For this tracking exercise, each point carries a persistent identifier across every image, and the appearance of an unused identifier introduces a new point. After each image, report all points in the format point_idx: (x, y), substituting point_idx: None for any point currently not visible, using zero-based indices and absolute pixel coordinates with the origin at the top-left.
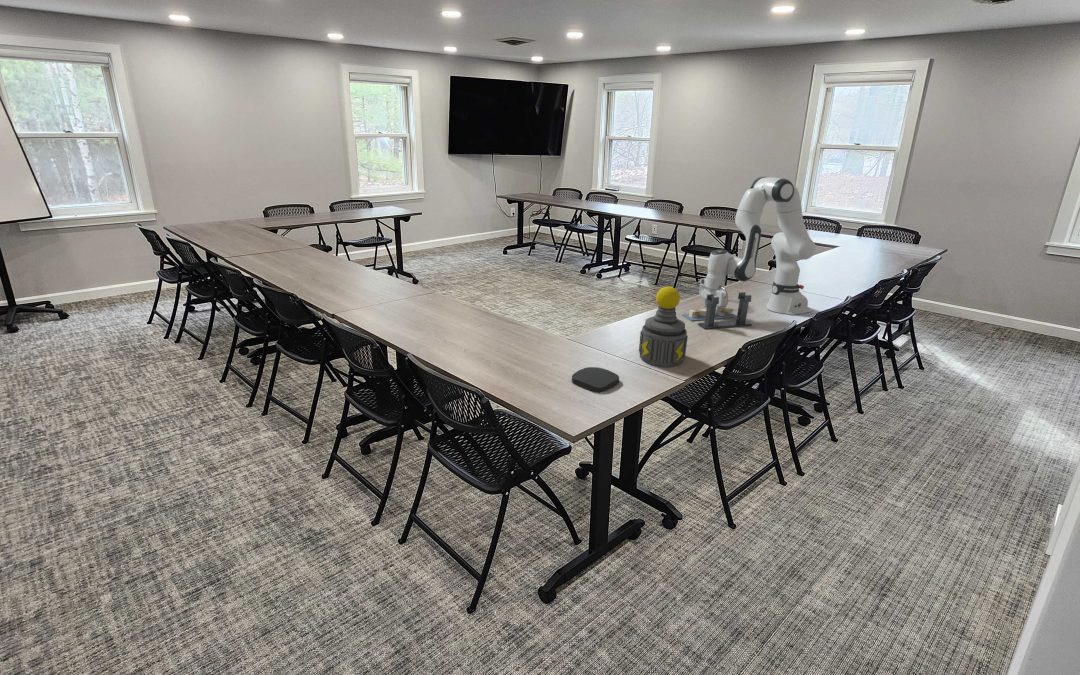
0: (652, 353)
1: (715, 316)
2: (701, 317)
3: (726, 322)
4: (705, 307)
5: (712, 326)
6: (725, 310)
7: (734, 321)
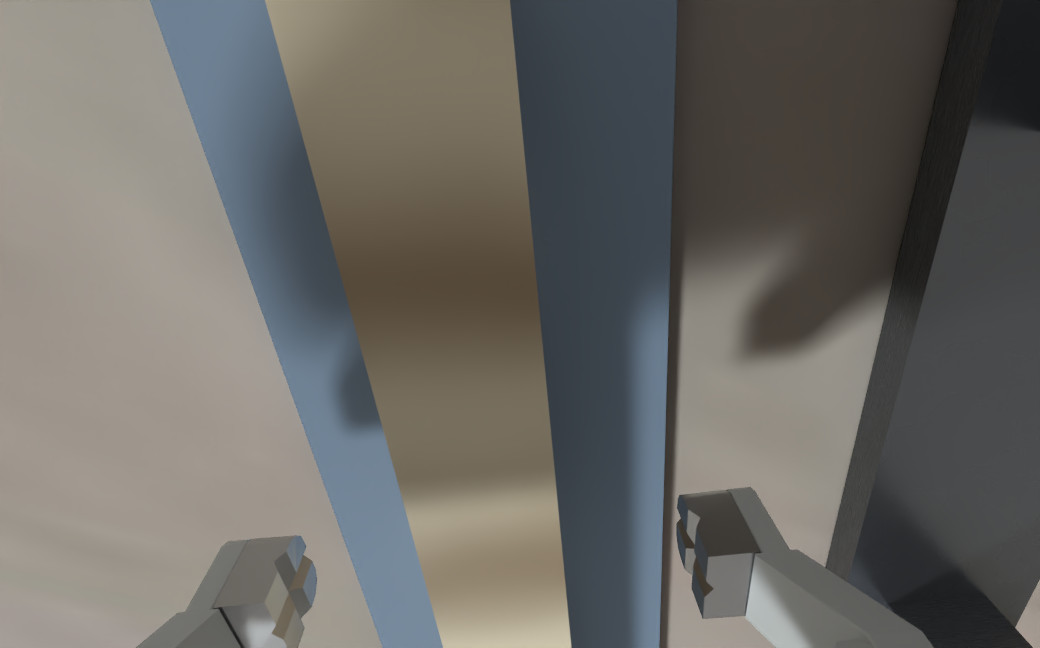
0: None
1: (565, 400)
2: (582, 604)
3: (985, 375)
4: (305, 588)
5: (1012, 618)
6: (528, 212)
7: (1025, 178)
